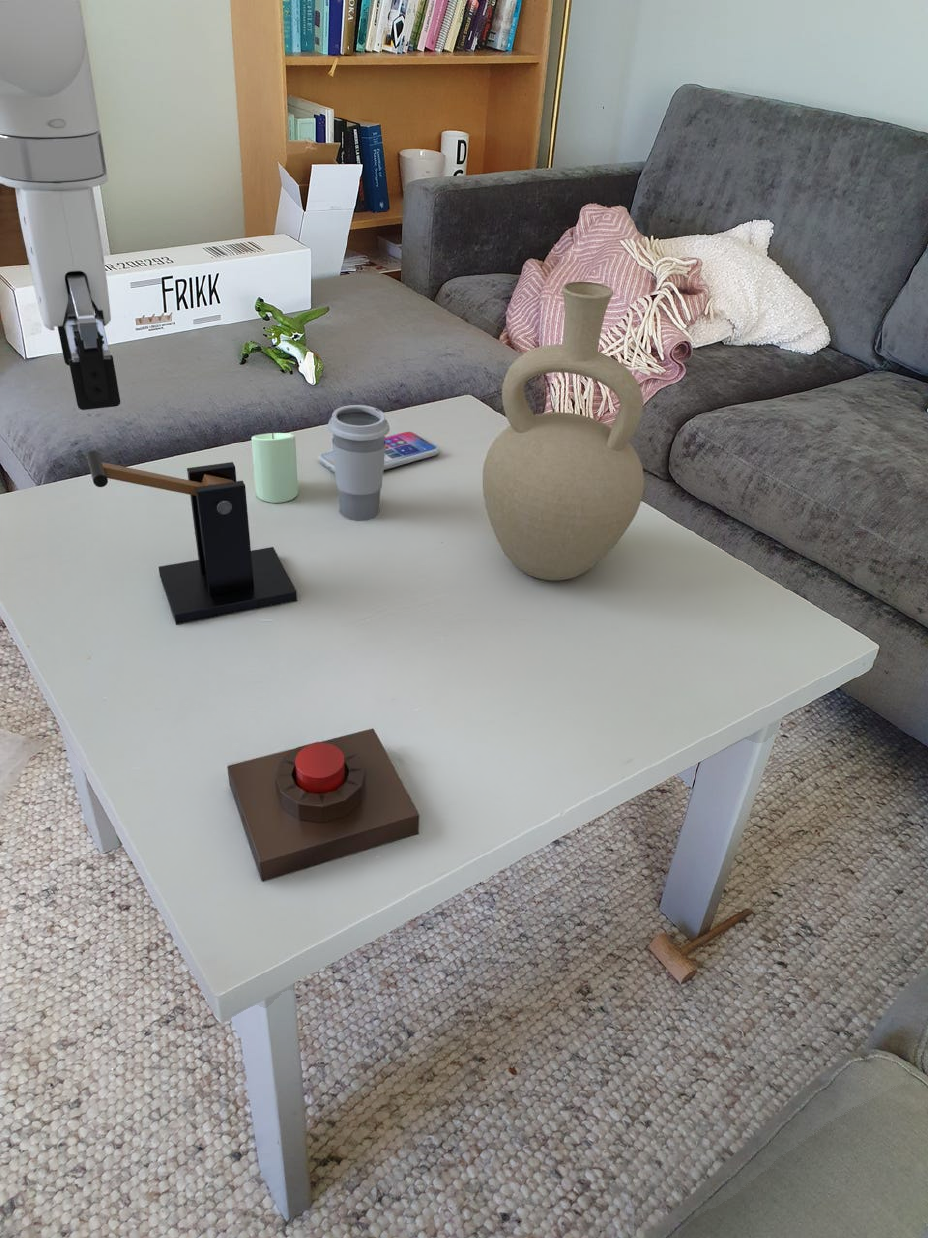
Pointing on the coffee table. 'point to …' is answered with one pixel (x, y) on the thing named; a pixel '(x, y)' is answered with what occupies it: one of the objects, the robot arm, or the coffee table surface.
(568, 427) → the vase
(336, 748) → the button
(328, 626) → the coffee table surface
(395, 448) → the smartphone
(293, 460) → the candle
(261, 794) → the button box
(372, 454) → the cup
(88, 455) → the lever
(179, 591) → the bracket
